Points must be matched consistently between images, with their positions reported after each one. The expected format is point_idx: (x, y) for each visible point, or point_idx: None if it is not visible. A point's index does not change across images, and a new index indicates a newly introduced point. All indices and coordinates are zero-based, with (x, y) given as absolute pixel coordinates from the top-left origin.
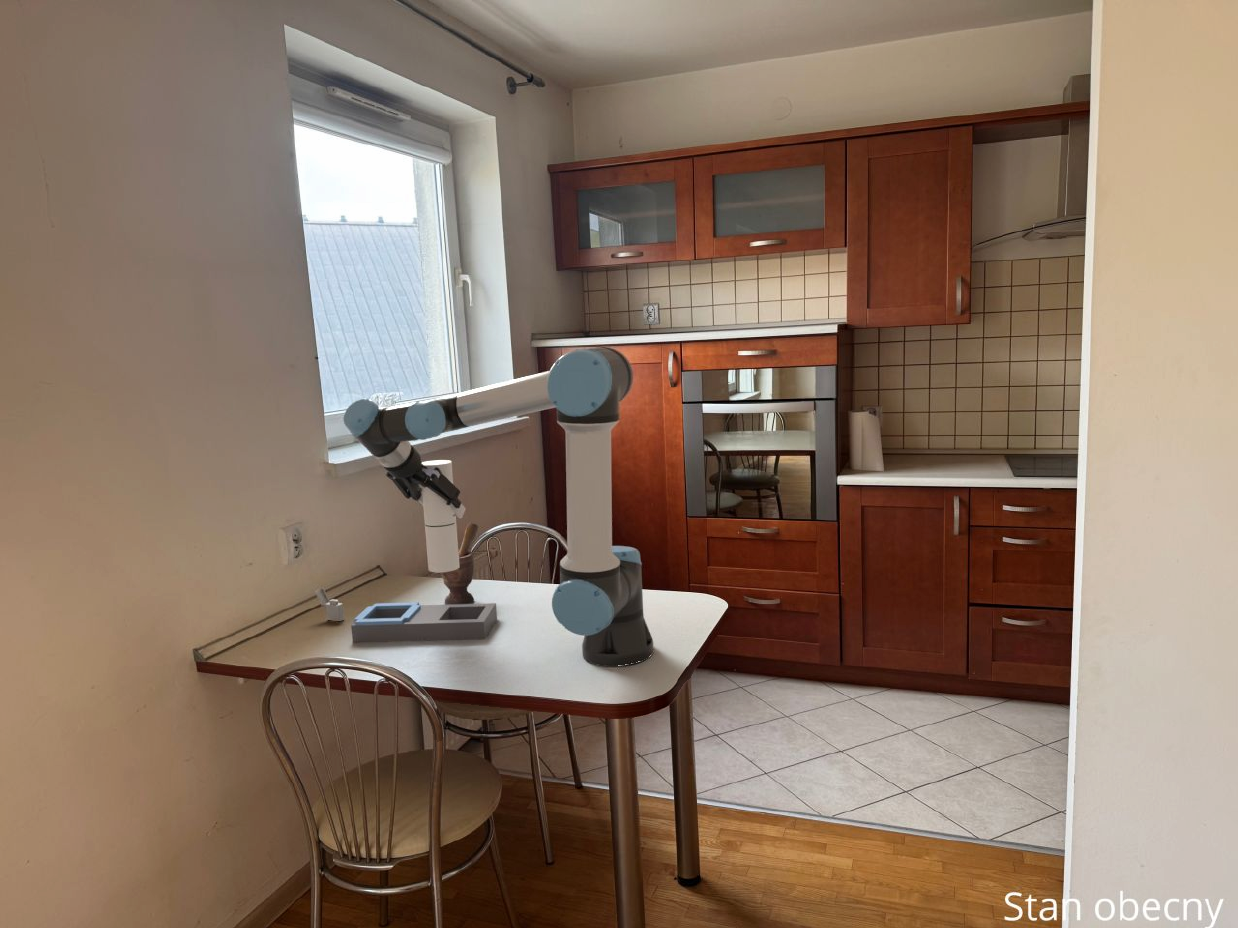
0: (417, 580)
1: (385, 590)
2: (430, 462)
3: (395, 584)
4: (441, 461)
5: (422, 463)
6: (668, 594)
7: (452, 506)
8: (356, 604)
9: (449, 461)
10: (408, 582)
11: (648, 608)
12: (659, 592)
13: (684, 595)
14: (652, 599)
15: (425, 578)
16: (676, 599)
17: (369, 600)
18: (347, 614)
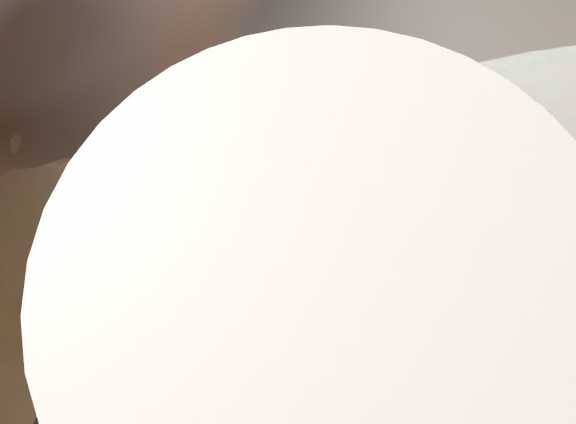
0: (49, 182)
1: (17, 252)
2: (203, 254)
3: (17, 217)
4: (324, 118)
5: (105, 411)
6: (538, 59)
7: None
8: (4, 347)
9: (453, 77)
10: (38, 198)
11: (569, 119)
12: (517, 58)
13: (565, 53)
14: (536, 85)
15: (59, 168)
16: (571, 70)
17: (19, 314)
18: (23, 409)
